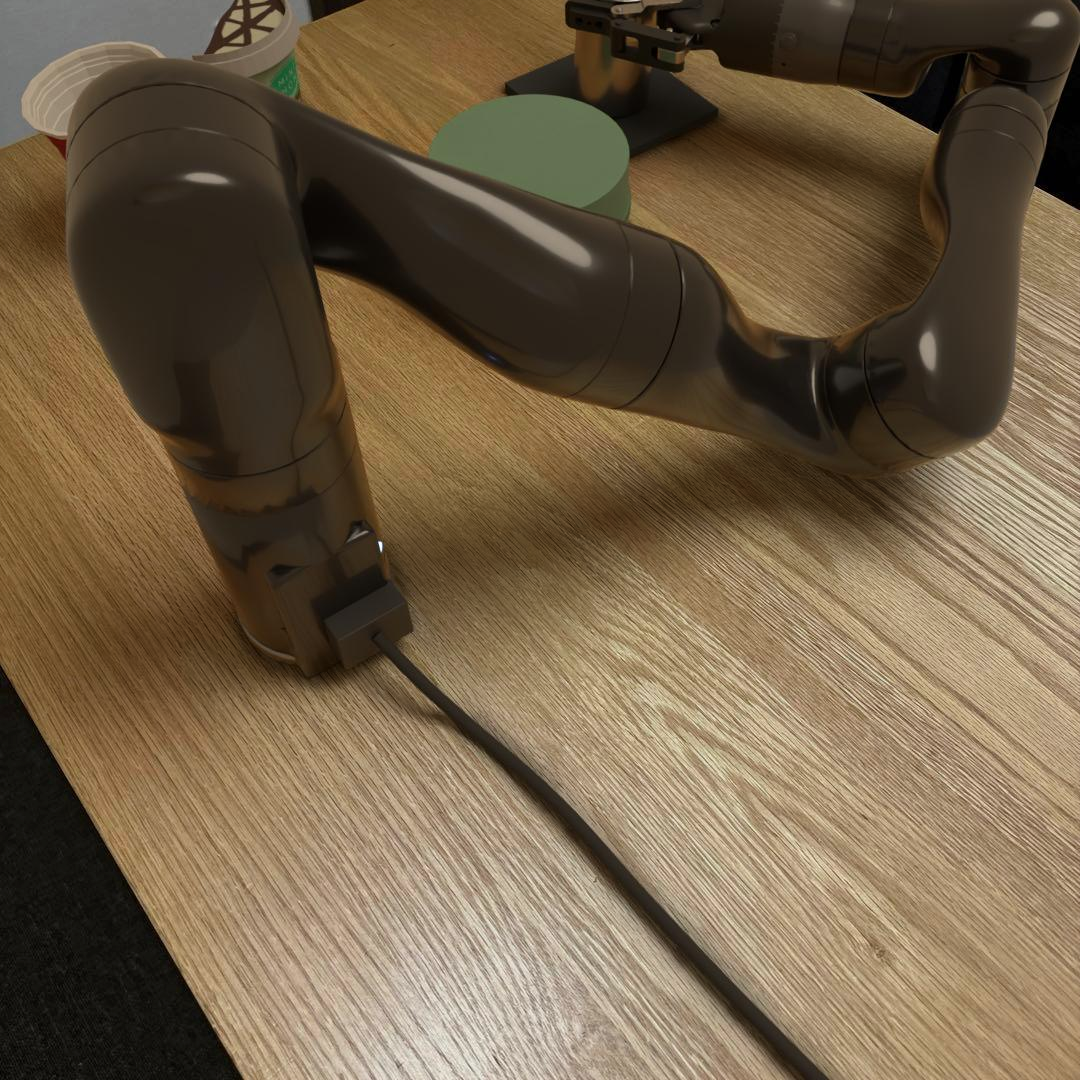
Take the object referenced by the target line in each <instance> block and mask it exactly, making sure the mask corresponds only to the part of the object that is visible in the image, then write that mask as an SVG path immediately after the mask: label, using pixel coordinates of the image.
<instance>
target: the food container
mask: <svg viewBox="0 0 1080 1080" xmlns="http://www.w3.org/2000/svg"><path fill="white" fill-rule="evenodd" d="M300 29H301V28H300V24H299V21H298V19H297V17H296V14H295V13H294V11H293V9H292V6H291V4H290V2H289V1H288V0H233V2H232V4H231V5H230V6H229V8H228V9H227V10H226V11H225V12H224V13H223V14H222V16H221V17H220V18H219V20H218V22H217V24H216V26H215V28H214V31H213V34H212V37H211V39H210V41H209V43H208V45H207V47H206V49H205V51H204V53H203V54H191V58H192V59H191V60H194V61H200V62H205V63H208V64H212V65H216V66H219V67H222V68H225V69H228V70H230V71H233V72H235V73H238V74H240V75H243V76H245V77H248V78H250V79H252V80H255V81H257V82H259V83H261V84H264V85H266V86H268V87H270V88H273V89H275V90H277V91H279V92H281V93H283V94H285V95H288V96H290V97H292V98H294V99H296V100H298V101H301V102H303V100H302V94H301V93H302V92H301V86H300V80H299V73H298V65H297V59H296V51H295V46H296V45H297V43H298V40H299V38H300V31H301V30H300Z"/></svg>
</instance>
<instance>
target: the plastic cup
mask: <svg viewBox="0 0 1080 1080" xmlns="http://www.w3.org/2000/svg"><path fill="white" fill-rule="evenodd" d="M149 58H167V57H166V56H165V55H163V54H162V53H161V52H160V51H159V50H158V49H157V48H155V47H154V46H151V45H147V44H143V43H139V42H136V41H132V40H131V41H130V40H129V41H106V42H105V41H104V42H101V43H97V44H93V45H91V46H90V45H89V46H86V47H82V48H78V49H76V50H73V51H72V52H70V53H68V54H66V55H64V56H62V57H60V58H58V59H56V60H54V61H52V62H50V63H49V64H48V65H47V66H46V67H44V68H43V69H42V70H41V71H40V72H39V73H38V74H36V75H35V76H34V77H33V78H32V79H31V80H30V82H29V84H28V85H27V87H26V89H25V90H24V92H23V95H21V96H22V97H21V98H20V99H21V100H20V101H21V116H22V117H23V118H24V119H25V120H26V121H27V122H28V123H29V124H30V126H32V128H34V130H35V131H36V132H37V133H39V134H41V135H44V136H45V137H46V138H47V139H48V140H49V142H50V143H51V144H52V145H53V146H54V147H55V148H56V149H57V150H58V152H59V154H60V155H61V156H62V159H64V161H65V162H66V142H67V129H68V124H69V120H70V116H71V112H72V109H73V106H74V104H75V102H76V100H77V98H78V97H79V95H80V94H81V92H82V91H83V90H84V89H85V88H86V87H87V86H88V85H89V84H90V83H91V82H92V81H93V80H94V79H95V78H97V77H98V76H100V75H101V74H103V73H104V72H106V71H107V70H109V69H111V68H114V67H117V66H119V65H122V64H125V63H127V62H130V61H136V60H143V59H149Z"/></svg>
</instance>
